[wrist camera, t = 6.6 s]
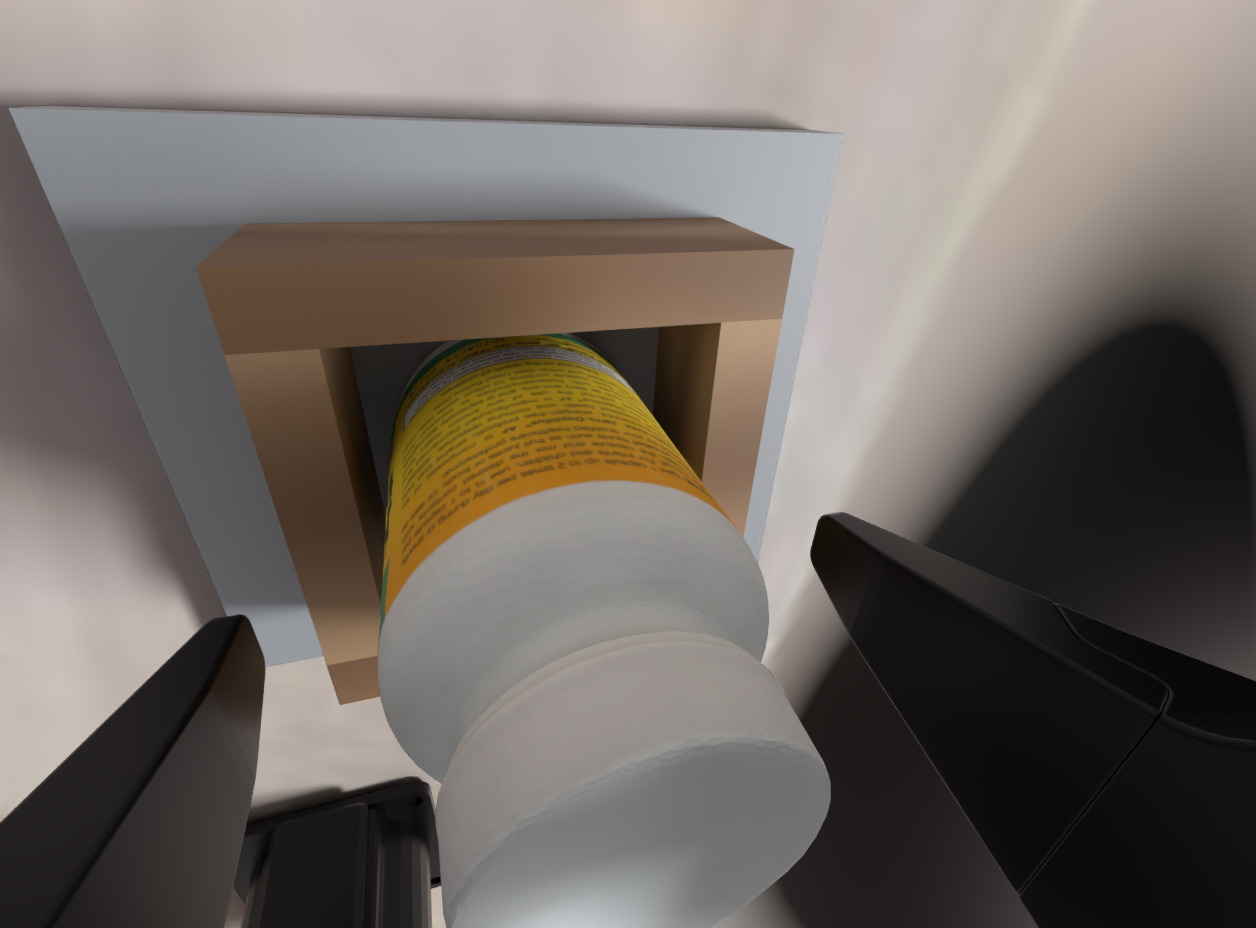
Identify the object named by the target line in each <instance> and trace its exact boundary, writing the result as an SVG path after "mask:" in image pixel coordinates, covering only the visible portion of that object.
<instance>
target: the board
mask: <svg viewBox="0 0 1256 928" xmlns="http://www.w3.org/2000/svg"><path fill="white" fill-rule="evenodd" d="M9 111H10V113H11V115H12V117H13V120H14V122H15V124H16V127H17V129H18V131H19V134H20V136H21V138H22V141H23V143H24V145H25V148H26V150H27V152H28V155H29V157H30V159H31V162H32V164H33V166H34V169H35V171H36V173H37V176H38V178H39V180H40V183H41V185H42V187H43V189H44V192H45V194H46V196H47V199H48V201H49V203H50V206H51V208H52V210H53V213H54V215H55V217H56V220H57V222H58V224H59V227H60V229H61V231H62V234H63V236H64V238H65V241H66V243H67V245H68V248H69V250H70V252H71V255H72V257H73V259H74V262H75V264H76V266H77V268H78V271H79V273H80V275H81V278H82V280H83V282H84V285H85V287H86V289H87V292H88V294H89V296H90V299H91V301H92V303H93V306H94V308H95V310H96V313H97V315H98V317H99V320H100V322H101V324H102V327H103V329H104V331H105V334H106V336H107V338H108V341H109V343H110V345H111V347H112V350H113V352H114V354H115V357H116V359H117V361H118V364H119V366H120V368H121V371H122V373H123V375H124V378H125V380H126V382H127V385H128V387H129V389H130V392H131V394H132V396H133V399H134V401H135V403H136V406H137V408H138V410H139V413H140V415H141V417H142V420H143V422H144V424H145V426H146V429H147V431H148V433H149V436H150V438H151V440H152V443H153V445H154V447H155V450H156V452H157V454H158V457H159V459H160V461H161V464H162V466H163V468H164V471H165V473H166V475H167V478H168V480H169V482H170V485H171V487H172V489H173V492H174V494H175V496H176V498H177V501H178V503H179V505H180V508H181V510H182V512H183V515H184V517H185V519H186V522H187V524H188V526H189V529H190V531H191V533H192V536H193V538H194V540H195V543H196V545H197V547H198V550H199V552H200V554H201V557H202V559H203V561H204V564H205V566H206V568H207V571H208V573H209V575H210V577H211V580H212V582H213V584H214V587H215V589H216V591H217V594H218V596H219V598H220V601H221V603H222V605H223V608H224V610H225V612H226V615H227V616H232V615H238V614H242V615H245V616H247V618H248V619H249V620H250V622H251V624H252V627H253V629H254V632H255V634H256V637H257V639H258V642H259V644H260V647H261V649H262V652H263V655H264V659H265V667H269V666H275V665H280V664H285V663H290V662H295V661H300V660H305V659H311V658H316V657H321V656H324V655H323V652H322V649H321V646H320V643H319V640H318V637H317V634H316V631H315V628H314V625H313V622H312V619H311V616H310V613H309V610H308V607H307V604H306V601H305V598H304V595H303V592H302V589H301V586H300V583H299V579H298V576H297V573H296V570H295V567H294V564H293V561H292V558H291V555H290V552H289V549H288V546H287V543H286V540H285V537H284V534H283V531H282V528H281V525H280V522H279V519H278V516H277V513H276V510H275V507H274V504H273V501H272V498H271V494H270V491H269V488H268V485H267V482H266V479H265V476H264V473H263V470H262V467H261V464H260V461H259V458H258V455H257V452H256V449H255V446H254V443H253V440H252V437H251V434H250V431H249V428H248V425H247V422H246V419H245V416H244V413H243V409H242V406H241V403H240V400H239V397H238V394H237V391H236V388H235V385H234V382H233V379H232V376H231V373H230V370H229V367H228V364H227V361H226V358H225V355H224V352H223V349H222V346H221V343H220V340H219V337H218V334H217V331H216V328H215V324H214V321H213V318H212V315H211V312H210V309H209V306H208V303H207V300H206V297H205V294H204V291H203V288H202V285H201V282H200V279H199V276H198V273H197V270H196V266H197V265H199V264H200V263H201V262H202V261H203V260H204V259H206V258H207V257H208V256H209V255H210V254H211V253H212V252H214V251H215V250H216V249H217V248H218V247H219V246H220V245H222V244H223V243H224V242H225V241H226V240H227V239H229V238H230V237H231V236H232V235H233V234H234V233H235V232H237V231H238V230H239V229H240V228H241V227H242V226H244V225H245V224H257V223H334V222H412V221H489V220H566V219H643V218H722V219H724V220H727V221H729V222H732V223H734V224H736V225H739V226H741V227H743V228H746V229H748V230H750V231H753V232H755V233H758V234H760V235H762V236H765V237H767V238H769V239H772V240H774V241H776V242H779V243H781V244H784V245H786V246H788V247H791V248H793V249H795V250H794V255H793V261H792V267H791V272H790V278H789V284H788V289H787V295H786V301H785V306H784V312H783V317H782V323H781V329H780V334H779V340H778V346H777V351H776V357H775V362H774V368H773V374H772V379H771V385H770V391H769V396H768V402H767V407H766V413H765V419H764V424H763V430H762V436H761V441H760V447H759V453H758V458H757V464H756V469H755V475H754V481H753V486H752V492H751V498H750V503H749V509H748V514H747V520H746V526H745V531H744V537H743V538H744V540H745V541H746V543H747V544H748V546H749V547H750V549H751V551H752V553H753V555H754V557H755V559H756V560H757V563H758V560H759V555H760V550H761V545H762V540H763V535H764V530H765V525H766V520H767V515H768V510H769V504H770V499H771V494H772V489H773V484H774V479H775V474H776V469H777V464H778V459H779V454H780V449H781V444H782V439H783V434H784V429H785V424H786V419H787V414H788V409H789V404H790V399H791V394H792V389H793V384H794V379H795V374H796V369H797V364H798V359H799V354H800V349H801V344H802V339H803V334H804V329H805V324H806V319H807V314H808V309H809V304H810V299H811V294H812V289H813V284H814V279H815V274H816V269H817V264H818V259H819V254H820V248H821V243H822V238H823V233H824V228H825V223H826V218H827V213H828V208H829V203H830V198H831V193H832V188H833V183H834V178H835V173H836V168H837V163H838V158H839V153H840V148H841V143H842V138H843V134H841V133H832V132H823V131H814V130H790V129H759V128H728V127H697V126H666V125H635V124H604V123H573V122H542V121H511V120H480V119H449V118H418V117H386V116H355V115H324V114H293V113H262V112H231V111H200V110H169V109H138V108H107V107H76V106H34V107H17V108H9ZM658 330H659V327H647V328H631V329H616V330H601V331H586V332H570V333H571V334H573V335H575V336H578V337H580V338H581V339H583V340H585V341H587V342H589V343H590V344H592V345H593V346H595V347H596V348H598V349H599V350H600V351H601V352H602V353H603V354H604V355H606V356H607V357H608V358H609V360H610V361H611V362H612V363H613V364H614V365H615V366H616V367H617V369H618V370H619V371H620V372H621V373H622V375H623V376H624V378H625V379H626V380H627V382H628V383H629V384H630V386H631V387H632V388H633V390H634V391H635V392H636V394H637V395H638V397H639V398H640V400H641V401H642V402H643V404H644V405H645V406H646V408H647V409H648V410H649V411H650V413H651V414H652V415H653V403H654V389H655V374H656V359H657V345H658ZM449 341H450V340H449ZM446 342H448V341H433V342H418V343H403V344H388V345H372V346H357V347H350V351H351V356H352V361H353V365H354V370H355V375H356V379H357V384H358V389H359V394H360V398H361V403H362V408H363V412H364V417H365V422H366V426H367V431H368V436H369V441H370V445H371V450H372V455H373V459H374V464H375V469H376V473H377V478H378V483H379V488H380V492H381V497H382V502H383V506H384V511H385V516H386V505H387V498H388V479H389V459H390V441H391V433H392V426H393V420H394V416H395V412H396V408H397V405H398V403H399V400H400V397H401V395H402V392H403V390H404V389H405V387H406V385H407V383H408V381H409V379H410V378H411V376H412V375H413V374H414V372H415V371H416V370H417V368H418V367H419V366H420V364H421V363H422V362H423V361H424V360H425V359H426V358H427V356H429V355H430V354H431V353H432V352H433V351H434V350H436V349H437V348H438V347H440V346H441V345H443V344H445V343H446Z"/></svg>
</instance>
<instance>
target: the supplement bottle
mask: <svg viewBox="0 0 1256 928" xmlns="http://www.w3.org/2000/svg"><path fill="white" fill-rule="evenodd" d="M768 624H769V611H768V598H767V591H766V586H765V582H764V579H763V576H762V573H761V570H760V568H759V565H758V563H757V560H756V559H755V557H754V555H753V553H752V551H751V549H750V547H749V546H748V544H747V543H746V541H745V540H744V538H743V537H742V535H741V534H740V533H739V531H738V530H737V528H736V527H735V525H734V524H733V522H732V521H731V520H730V519H729V517H728V516H727V515H726V513H725V512H724V511H723V509H722V508H721V507H720V505H719V504H718V503H717V501H716V500H715V499H714V498H713V496H712V495H711V494H710V492H709V491H708V490H707V488H706V487H705V486H704V484H703V483H702V482H701V480H700V479H699V478H698V476H697V475H696V474H695V472H694V471H693V470H692V468H691V467H690V466H689V464H688V463H687V462H686V460H685V459H684V458H683V456H682V455H681V454H680V452H679V451H678V450H677V448H676V447H675V446H674V444H673V443H672V442H671V440H670V439H669V438H668V436H667V435H666V433H665V432H664V431H663V429H662V428H661V426H660V425H659V424H658V422H657V421H656V420H655V418H654V417H653V415H652V414H651V413H650V411H649V410H648V409H647V408H646V406H645V405H644V404H643V402H642V401H641V400H640V398H639V397H638V395H637V394H636V392H635V391H634V390H633V388H632V387H631V386H630V384H629V383H628V382H627V380H626V379H625V378H624V376H623V375H622V373H621V372H620V371H619V370H618V369H617V367H616V366H615V365H614V364H613V363H612V362H611V361H610V360H609V358H608V357H607V356H606V355H604V354H603V353H602V352H601V351H600V350H599V349H598V348H596V347H595V346H593V345H592V344H590V343H589V342H587V341H585V340H583V339H581V338H580V337H578V336H575V335H573V334H571V333H555V334H540V335H525V336H509V337H494V338H479V339H464V340H450V341H448V342H446V343H445V344H443V345H441V346H440V347H438V348H437V349H436V350H434V351H433V352H432V353H431V354H430V355H429V356H427V358H426V359H425V360H424V361H423V362H422V363H421V364H420V366H419V367H418V368H417V370H416V371H415V372H414V374H413V375H412V376H411V378H410V379H409V381H408V383H407V385H406V387H405V389H404V390H403V392H402V395H401V397H400V400H399V403H398V405H397V408H396V412H395V416H394V420H393V426H392V433H391V441H390V459H389V479H388V498H387V505H386V535H385V547H384V566H383V582H382V594H381V610H380V621H379V642H378V682H379V689H380V697H381V701H382V705H383V708H384V712H385V715H386V718H387V721H388V723H389V726H390V728H391V729H392V731H393V733H394V735H395V737H396V739H397V740H398V742H399V744H400V745H401V747H402V748H403V750H404V751H405V752H406V753H407V754H408V756H409V757H410V758H411V759H412V760H413V761H414V762H415V763H416V765H417V766H418V767H420V768H421V769H422V770H423V771H424V772H426V773H427V774H428V775H429V776H431V777H432V778H434V779H435V780H437V781H438V782H440V783H441V784H442V785H441V788H440V791H439V794H438V800H437V805H436V830H437V836H438V843H439V858H440V872H441V887H442V901H443V915H444V919H445V923H446V928H711V927H712V926H714V925H716V924H718V923H719V922H721V921H722V920H724V919H725V918H727V917H729V916H731V915H732V914H734V913H736V912H737V911H738V910H740V909H741V908H743V907H744V906H745V905H747V904H748V903H750V902H751V901H752V900H753V899H755V898H756V897H757V896H758V895H760V894H761V893H762V892H763V891H764V890H766V889H767V888H768V887H769V886H771V885H772V884H773V883H774V882H775V881H777V880H778V879H779V878H780V877H781V876H783V875H784V874H785V873H786V872H787V871H788V870H789V869H790V868H791V867H792V866H793V865H794V864H795V863H796V862H797V861H798V860H799V859H800V858H801V857H802V856H803V854H804V853H805V852H806V850H807V849H808V847H809V846H810V844H811V843H812V841H813V840H814V839H815V838H816V836H817V834H818V832H819V830H820V828H821V826H822V824H823V821H824V819H825V817H826V815H827V812H828V808H829V803H830V798H831V785H830V780H829V776H828V773H827V770H826V767H825V764H824V762H823V760H822V758H821V757H820V755H819V753H818V752H817V750H816V748H815V746H814V745H813V743H812V741H811V739H810V738H809V736H808V734H807V733H806V731H805V729H804V728H803V726H802V724H801V722H800V721H799V719H798V717H797V715H796V714H795V712H794V710H793V709H792V707H791V705H790V704H789V702H788V699H787V697H786V695H785V692H784V690H783V687H782V685H781V684H780V683H779V681H778V680H777V678H776V677H775V676H774V675H773V673H772V672H771V671H770V670H769V669H768V668H767V667H766V666H765V665H763V664H762V663H761V660H762V657H763V654H764V650H765V647H766V641H767V635H768Z"/></svg>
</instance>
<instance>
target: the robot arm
mask: <svg viewBox="0 0 1256 928" xmlns="http://www.w3.org/2000/svg"><path fill="white" fill-rule="evenodd" d="M810 557H811V561H812V564H813V567H814V569H815V571H816V572H817V574H818V576H819V578H820V580H821V582H822V584H823V586H824V588H825V590H826V591H827V594H828V596H829V598H830V600H831V602H832V604H833V605H834V607H835V609H836V611H837V613H838V615H839V617H840V619H841V621H842V623H843V625H844V626H845V628H846V630H847V632H848V634H849V636H850V637H851V639H852V640H853V642H854V644H855V646H856V647H857V649H858V650H859V652H860V653H861V655H862V656H863V658H864V659H865V661H866V662H867V664H868V666H869V667H870V669H871V670H872V672H873V673H874V675H875V676H876V678H877V679H878V681H879V683H880V684H881V686H882V687H883V689H884V690H885V692H886V693H887V695H888V696H889V698H890V699H891V701H892V703H893V704H894V706H895V707H896V709H897V710H898V712H899V713H900V715H901V716H902V718H903V719H904V721H905V723H906V724H907V726H908V727H909V729H910V730H911V731H912V733H913V735H914V736H915V738H916V740H917V741H918V743H919V744H920V746H921V747H922V749H923V750H924V752H925V753H926V755H927V756H928V758H929V759H930V761H931V763H932V764H933V766H934V767H935V769H936V770H937V772H938V773H939V775H940V776H941V778H942V780H943V781H944V783H945V784H946V786H947V787H948V789H949V790H950V792H951V793H952V795H953V796H954V798H955V800H956V801H957V802H958V804H959V806H960V807H961V809H962V810H963V812H964V813H965V815H966V816H967V818H968V820H969V821H970V823H971V824H972V826H973V827H974V829H975V830H976V832H977V833H978V835H979V836H980V838H981V839H982V841H983V843H984V844H985V846H986V847H987V849H988V850H989V852H990V853H991V855H992V856H993V858H994V860H995V861H996V863H997V864H998V866H999V867H1000V869H1001V870H1002V872H1003V873H1004V875H1005V876H1006V878H1007V880H1008V881H1009V883H1010V884H1011V886H1012V887H1013V889H1014V890H1015V892H1016V893H1019V895H1018V897H1019V899H1020V900H1021V902H1022V903H1023V905H1024V906H1025V908H1026V909H1027V911H1028V912H1029V914H1030V915H1031V917H1032V918H1033V920H1034V922H1035V923H1036V925H1037V926H1038V928H1256V681H1254V680H1252V679H1249V678H1246V677H1244V676H1241V675H1238V674H1235V673H1233V672H1230V671H1227V670H1225V669H1222V668H1219V667H1217V666H1214V665H1212V664H1209V663H1206V662H1204V661H1200V660H1198V659H1195V658H1193V657H1190V656H1187V655H1184V654H1182V653H1179V652H1176V651H1174V650H1171V649H1169V648H1166V647H1163V646H1161V645H1158V644H1155V643H1153V642H1150V641H1148V640H1145V639H1142V638H1140V637H1137V636H1135V635H1132V634H1129V633H1127V632H1124V631H1122V630H1119V629H1117V628H1114V627H1112V626H1109V625H1107V624H1105V623H1102V622H1099V621H1097V620H1095V619H1093V618H1090V617H1088V616H1085V615H1083V614H1080V613H1078V612H1076V611H1073V610H1071V609H1069V608H1067V607H1064V606H1062V605H1060V604H1053V602H1052V601H1050V600H1048V599H1045V598H1043V597H1041V596H1038V595H1036V594H1034V593H1031V592H1029V591H1027V590H1024V589H1022V588H1019V587H1017V586H1015V585H1013V584H1010V583H1008V582H1006V581H1003V580H1001V579H999V578H996V577H994V576H992V575H989V574H987V573H985V572H982V571H980V570H977V569H975V568H973V567H971V566H968V565H966V564H964V563H961V562H959V561H957V560H954V559H952V558H950V557H947V556H945V555H943V554H940V553H938V552H936V551H933V550H931V549H929V548H926V547H924V546H922V545H919V544H917V543H915V542H912V541H910V540H908V539H905V538H903V537H901V536H899V535H896V534H894V533H892V532H889V531H887V530H885V529H882V528H880V527H878V526H875V525H873V524H871V523H868V522H866V521H864V520H861V519H859V518H857V517H854V516H852V515H850V514H847V513H844V512H837V513H831V514H826V515H823V516H821V517H820V519H819V520H818V523H817V527H816V531H815V535H814V538H813V542H812V546H811V551H810ZM264 682H265V659H264V655H263V652H262V649H261V647H260V644H259V642H258V639H257V637H256V634H255V632H254V629H253V627H252V624H251V622H250V620H249V619H248V618H247V616H245V615H242V614H238V615H232V616H226V617H220V618H215V619H212V620H210V621H208V622H207V623H206V624H205V625H204V626H203V627H201V628H200V629H199V630H198V631H197V632H196V633H195V634H194V635H193V636H192V637H191V638H190V639H189V640H188V641H187V642H186V643H185V644H184V645H183V646H182V647H181V648H180V649H179V650H178V651H177V652H176V653H175V654H174V655H173V656H172V657H171V658H170V659H168V660H167V661H166V662H165V663H164V664H163V665H162V666H161V667H160V668H159V669H158V670H157V671H156V672H155V673H154V674H153V675H152V676H151V677H150V678H149V679H148V680H147V681H146V682H145V683H144V684H143V685H142V686H141V687H140V688H139V689H138V690H136V691H135V692H134V693H133V694H132V695H131V696H130V697H129V698H128V699H127V700H126V701H125V702H124V703H123V704H122V705H121V706H120V707H119V708H118V709H117V710H116V711H115V712H114V713H113V714H112V715H111V716H110V717H109V718H108V719H107V720H106V721H105V722H103V723H102V724H101V725H100V726H99V727H98V728H97V729H96V730H95V731H94V732H93V733H92V734H91V735H90V736H89V737H88V738H87V739H86V740H85V741H84V742H83V743H82V744H81V745H80V746H79V747H78V748H77V749H76V750H75V751H74V752H73V753H71V754H70V755H69V756H68V757H67V758H66V759H65V760H64V761H63V762H62V763H61V764H60V765H59V766H58V767H57V768H56V769H55V770H54V771H53V772H52V773H51V774H50V775H49V776H48V777H47V778H46V779H45V780H44V781H43V782H42V783H41V784H40V785H38V786H37V787H36V788H35V789H34V790H33V791H32V792H31V793H30V794H29V795H28V796H27V797H26V798H25V799H24V800H23V801H22V802H21V803H20V804H19V805H18V806H17V807H16V808H15V809H14V810H13V811H12V812H11V813H10V814H9V815H8V816H7V817H5V818H4V819H3V820H2V821H1V822H0V928H224V926H225V921H226V917H227V912H228V907H229V903H230V898H231V893H232V889H233V886H234V888H235V890H236V891H237V893H238V894H239V896H240V898H241V899H242V901H243V902H244V904H245V909H244V914H243V919H242V924H241V928H432V911H431V889H432V888H435V887H438V886H441V872H440V858H439V843H438V836H437V830H436V810H435V805H434V801H433V797H432V792H431V788H430V786H429V784H428V783H426V782H421V781H417V782H411V783H408V784H404V785H400V786H396V787H392V788H388V789H384V790H380V791H376V792H372V793H368V794H365V795H361V796H357V797H353V798H349V799H345V800H341V801H337V802H333V803H329V804H326V805H322V806H318V807H314V808H310V809H306V810H302V811H298V812H294V813H290V814H287V815H283V816H279V817H275V818H271V819H267V820H263V821H259V822H255V823H251V824H247V825H246V823H247V819H248V814H249V809H250V805H251V800H252V795H253V790H254V784H255V779H256V770H257V762H258V751H259V739H260V728H261V716H262V705H263V694H264Z"/></svg>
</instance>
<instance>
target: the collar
mask: <svg viewBox="0 0 1256 928" xmlns="http://www.w3.org/2000/svg"><path fill="white" fill-rule="evenodd" d="M794 250H795V249H793V248H791V247H788V246H786V245H784V244H781V243H779V242H776V241H774V240H772V239H769V238H767V237H765V236H762V235H760V234H758V233H755V232H753V231H750V230H748V229H746V228H743V227H741V226H739V225H736V224H734V223H732V222H729V221H727V220H724V219H722V218H643V219H566V220H489V221H412V222H334V223H257V224H245V225H244V226H242V227H241V228H240V229H239V230H238V231H237V232H235V233H234V234H233V235H232V236H231V237H230V238H229V239H227V240H226V241H225V242H224V243H223V244H222V245H220V246H219V247H218V248H217V249H216V250H215V251H214V252H212V253H211V254H210V255H209V256H208V257H207V258H206V259H204V260H203V261H202V262H201V263H200V264H199V265H197V266H196V270H197V273H198V276H199V279H200V282H201V285H202V288H203V291H204V294H205V297H206V300H207V303H208V306H209V309H210V312H211V315H212V318H213V321H214V324H215V328H216V331H217V334H218V337H219V340H220V343H221V346H222V349H223V352H224V355H225V358H226V361H227V364H228V367H229V370H230V373H231V376H232V379H233V382H234V385H235V388H236V391H237V394H238V397H239V400H240V403H241V406H242V409H243V413H244V416H245V419H246V422H247V425H248V428H249V431H250V434H251V437H252V440H253V443H254V446H255V449H256V452H257V455H258V458H259V461H260V464H261V467H262V470H263V473H264V476H265V479H266V482H267V485H268V488H269V491H270V494H271V498H272V501H273V504H274V507H275V510H276V513H277V516H278V519H279V522H280V525H281V528H282V531H283V534H284V537H285V540H286V543H287V546H288V549H289V552H290V555H291V558H292V561H293V564H294V567H295V570H296V573H297V576H298V579H299V583H300V586H301V589H302V592H303V595H304V598H305V601H306V604H307V607H308V610H309V613H310V616H311V619H312V622H313V625H314V628H315V631H316V634H317V637H318V640H319V643H320V646H321V649H322V652H323V655H324V658H325V661H326V664H327V668H328V671H329V674H330V677H331V680H332V683H333V686H334V689H335V692H336V695H337V698H338V701H339V704H340V705H342V704H347V703H352V702H356V701H361V700H366V699H370V698H375V697H379V696H380V689H379V682H378V642H379V621H380V610H381V594H382V582H383V566H384V547H385V535H386V516H385V511H384V506H383V502H382V497H381V492H380V488H379V483H378V478H377V473H376V469H375V464H374V459H373V455H372V450H371V445H370V441H369V436H368V431H367V426H366V422H365V417H364V412H363V408H362V403H361V398H360V394H359V389H358V384H357V379H356V375H355V370H354V365H353V361H352V356H351V351H350V347H357V346H372V345H388V344H403V343H418V342H433V341H449V340H464V339H479V338H494V337H509V336H525V335H540V334H555V333H570V332H586V331H601V330H616V329H631V328H647V327H659V330H658V345H657V359H656V374H655V389H654V403H653V417H654V418H655V420H656V421H657V422H658V424H659V425H660V426H661V428H662V429H663V431H664V432H665V433H666V435H667V436H668V438H669V439H670V440H671V442H672V443H673V444H674V446H675V447H676V448H677V450H678V451H679V452H680V454H681V455H682V456H683V458H684V459H685V460H686V462H687V463H688V464H689V466H690V467H691V468H692V470H693V471H694V472H695V474H696V475H697V476H698V478H699V479H700V480H701V482H702V483H703V484H704V486H705V487H706V488H707V490H708V491H709V492H710V494H711V495H712V496H713V498H714V499H715V500H716V501H717V503H718V504H719V505H720V507H721V508H722V509H723V511H724V512H725V513H726V515H727V516H728V517H729V519H730V520H731V521H732V522H733V524H734V525H735V527H736V528H737V530H738V531H739V533H740V534H741V535H742V537H744V531H745V526H746V520H747V514H748V509H749V503H750V498H751V492H752V486H753V481H754V475H755V469H756V464H757V458H758V453H759V447H760V441H761V436H762V430H763V424H764V419H765V413H766V407H767V402H768V396H769V391H770V385H771V379H772V374H773V368H774V362H775V357H776V351H777V346H778V340H779V334H780V329H781V323H782V317H783V312H784V306H785V301H786V295H787V289H788V284H789V278H790V272H791V267H792V261H793V255H794Z"/></svg>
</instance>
